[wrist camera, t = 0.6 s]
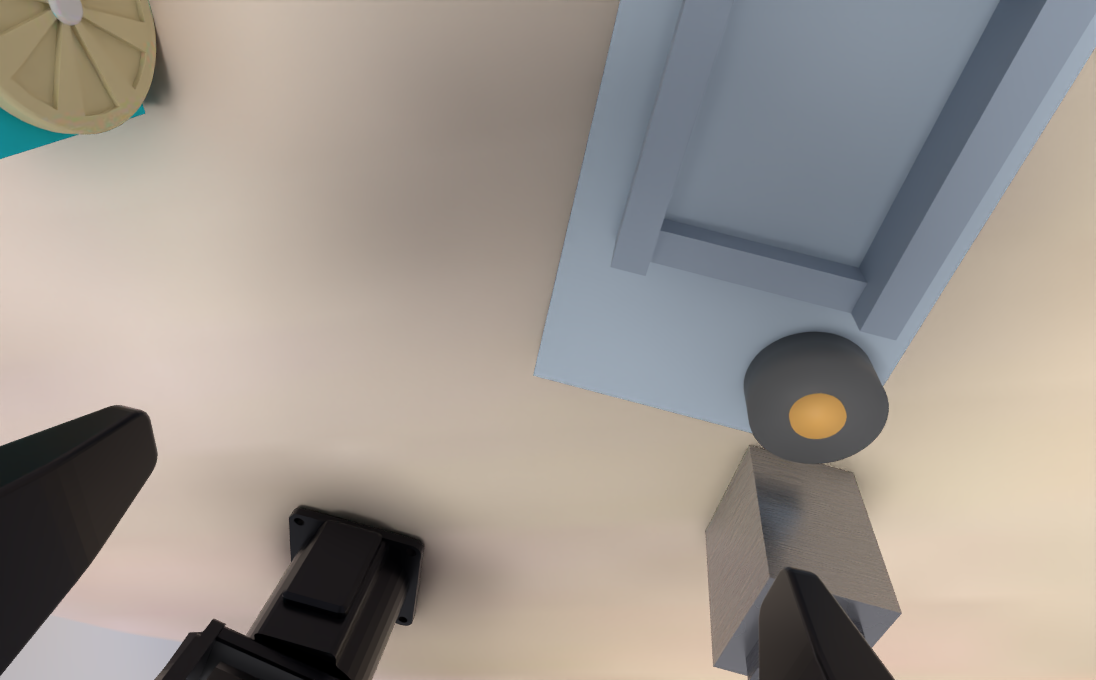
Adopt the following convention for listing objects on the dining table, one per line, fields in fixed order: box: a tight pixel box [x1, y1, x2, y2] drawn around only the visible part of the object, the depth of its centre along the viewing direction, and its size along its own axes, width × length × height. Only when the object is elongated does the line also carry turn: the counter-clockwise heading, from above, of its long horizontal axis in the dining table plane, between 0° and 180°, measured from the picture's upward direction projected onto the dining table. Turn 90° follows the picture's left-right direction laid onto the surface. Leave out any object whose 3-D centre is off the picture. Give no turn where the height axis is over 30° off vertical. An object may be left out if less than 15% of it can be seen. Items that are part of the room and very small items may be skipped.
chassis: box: [533, 0, 1096, 464], centre depth 18 cm, size 15×11×3 cm
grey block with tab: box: [705, 445, 902, 680], centre depth 22 cm, size 5×4×7 cm
